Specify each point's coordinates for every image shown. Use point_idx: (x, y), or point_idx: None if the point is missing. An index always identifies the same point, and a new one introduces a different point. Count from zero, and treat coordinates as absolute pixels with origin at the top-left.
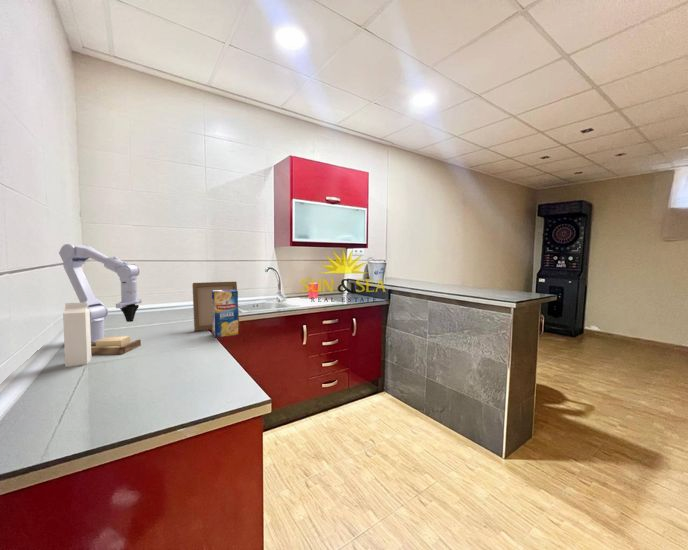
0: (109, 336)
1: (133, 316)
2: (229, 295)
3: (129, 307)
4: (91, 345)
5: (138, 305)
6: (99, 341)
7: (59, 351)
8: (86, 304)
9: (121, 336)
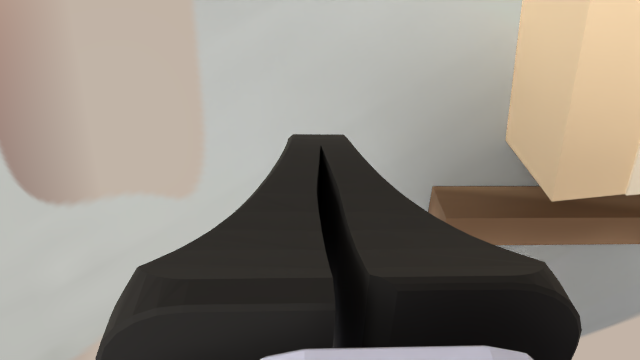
0: (558, 173)
1: (312, 165)
2: None
3: (571, 356)
4: (617, 216)
5: (164, 300)
6: None
7: None
8: None
9: (608, 36)
